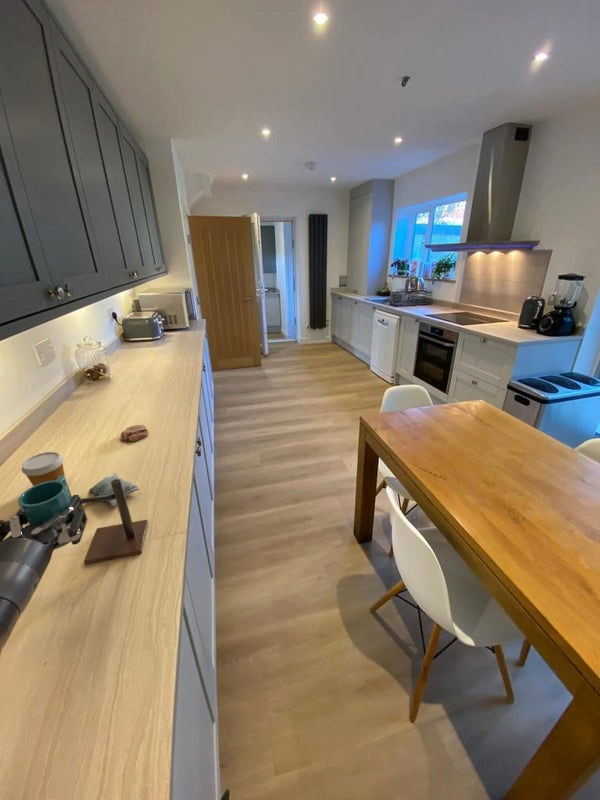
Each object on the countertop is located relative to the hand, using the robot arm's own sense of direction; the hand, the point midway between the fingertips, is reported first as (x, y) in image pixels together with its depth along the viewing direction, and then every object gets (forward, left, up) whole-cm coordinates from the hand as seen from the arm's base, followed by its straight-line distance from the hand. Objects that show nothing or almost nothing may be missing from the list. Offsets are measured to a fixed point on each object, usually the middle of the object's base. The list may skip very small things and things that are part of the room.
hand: (54, 501), depth 59 cm
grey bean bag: (+18, +25, -24) cm, 39 cm away
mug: (0, 0, -6) cm, 6 cm away
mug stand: (+9, +8, -24) cm, 26 cm away
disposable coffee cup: (+7, +40, -24) cm, 47 cm away
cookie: (+39, +54, -24) cm, 71 cm away
